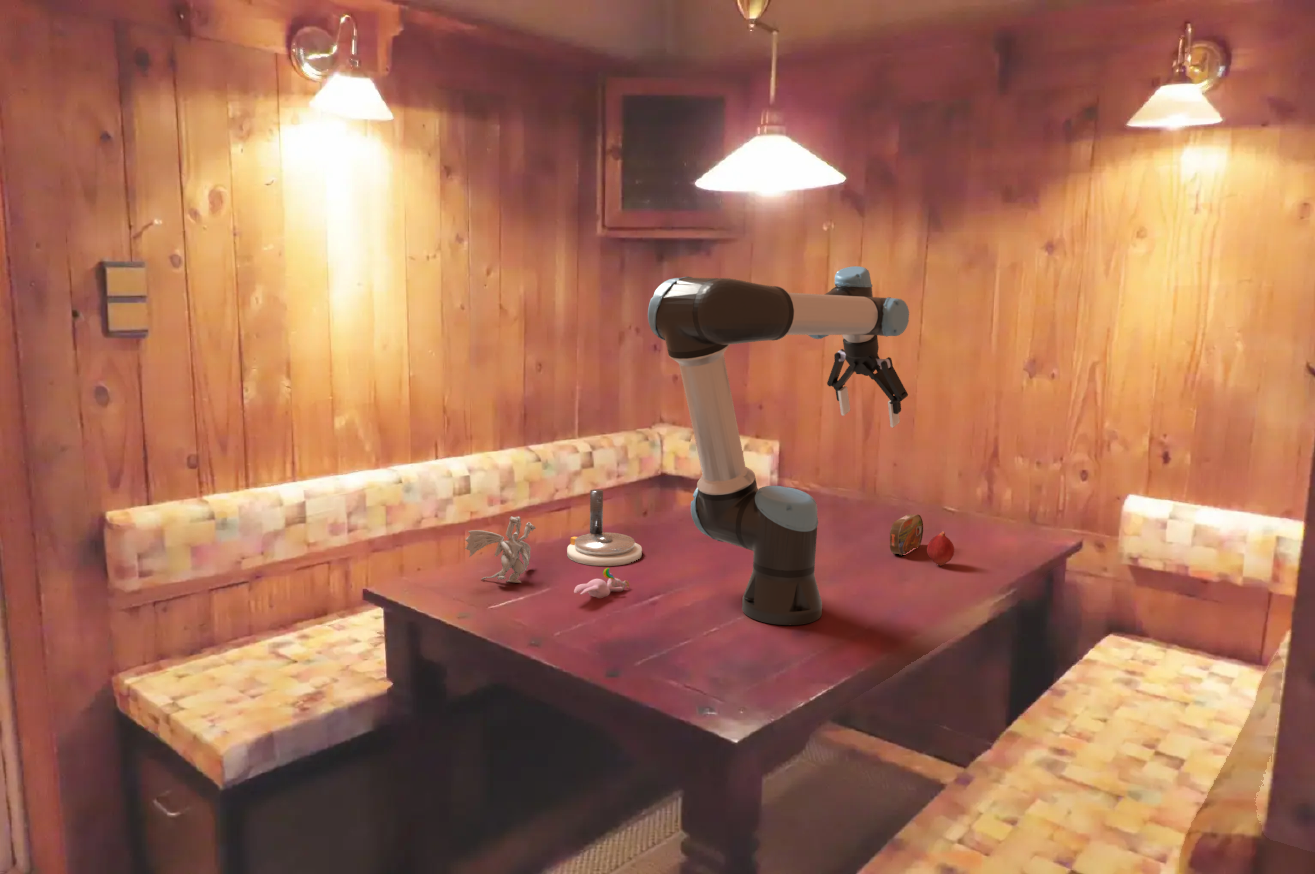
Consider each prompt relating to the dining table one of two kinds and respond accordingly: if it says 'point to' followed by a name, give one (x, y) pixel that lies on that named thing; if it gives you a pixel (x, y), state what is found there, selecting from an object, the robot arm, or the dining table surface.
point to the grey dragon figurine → (505, 548)
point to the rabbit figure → (602, 586)
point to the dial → (602, 533)
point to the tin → (906, 534)
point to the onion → (940, 549)
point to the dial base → (603, 560)
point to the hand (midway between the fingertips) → (869, 418)
